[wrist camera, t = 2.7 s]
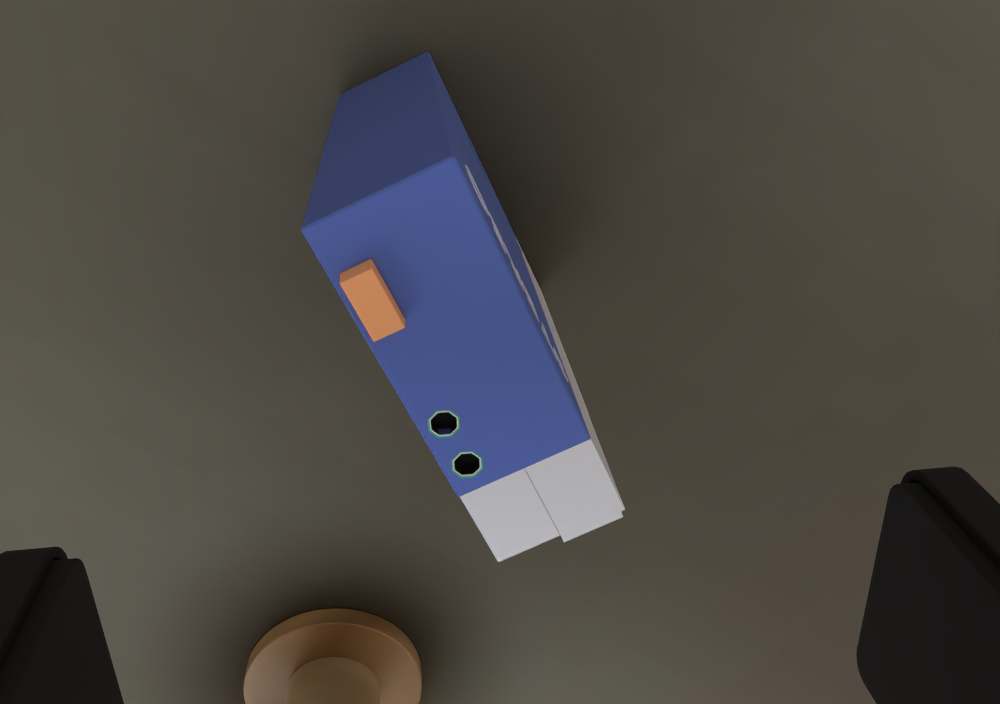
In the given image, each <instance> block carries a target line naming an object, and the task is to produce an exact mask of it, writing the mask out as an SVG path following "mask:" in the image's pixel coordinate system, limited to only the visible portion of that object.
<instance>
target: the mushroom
mask: <svg viewBox="0 0 1000 704" xmlns="http://www.w3.org/2000/svg"><path fill="white" fill-rule="evenodd" d="M421 691H422V673H421V663H420V659H419V656H418V653H417V651H416V649H415V647H414V645H413V644H412V642H411V641H410V640H409V638H408V637H407V636H406V635H405V634H404V633H403V632H402V631H401V630H400V629H399V628H397V627H396V626H394V625H393V624H392V623H390V622H388V621H386V620H384V619H383V618H380V617H378V616H375V615H373V614H370V613H366V612H363V611H358V610H352V609H340V608H334V609H321V610H314V611H310V612H306V613H302V614H299V615H297V616H294V617H291V618H289V619H287V620H285V621H283V622H281V623H280V624H278V625H277V626H275V627H274V628H272V629H271V630H270V631H269V632H268V633H266V634H265V635H264V636H263V637H262V639H261V640H260V641H259V642H258V643H257V645H256V646H255V648H254V649H253V651H252V653H251V655H250V657H249V660H248V664H247V667H246V673H245V678H244V686H243V693H244V700H245V704H418V703H419V700H420V697H421Z"/></svg>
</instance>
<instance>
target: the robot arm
mask: <svg viewBox="0 0 1000 704" xmlns="http://www.w3.org/2000/svg"><path fill="white" fill-rule="evenodd" d="M857 664H858V669H859V672H860V675H861V678H862V680H863V682H864V684H865V686H866V687H867V689H868V690H869V692H870V694H871V695H872V697H873V699H874V700H875V702H876V703H877V704H1000V504H999V503H998V502H997V501H996V500H995V499H994V498H993V497H992V496H991V495H990V494H989V493H988V492H987V491H986V490H985V489H984V488H983V487H982V486H981V485H980V484H979V483H978V482H977V481H975V480H974V479H973V478H972V477H971V476H970V475H969V474H968V473H967V472H966V471H964V470H963V469H962V468H958V467H945V468H934V469H923V470H912V471H910V472H907V473H906V474H905V476H904V477H903V479H902V481H901V484H896V485H894V486H893V487H892V488H891V490H890V493H889V496H888V501H887V505H886V510H885V515H884V520H883V525H882V530H881V535H880V539H879V544H878V549H877V554H876V559H875V564H874V569H873V574H872V578H871V583H870V588H869V593H868V598H867V603H866V608H865V613H864V617H863V622H862V627H861V632H860V637H859V642H858V647H857ZM0 704H124V703H123V699H122V696H121V692H120V689H119V685H118V682H117V678H116V674H115V671H114V667H113V664H112V660H111V657H110V653H109V650H108V646H107V643H106V639H105V636H104V632H103V629H102V625H101V622H100V618H99V615H98V611H97V608H96V604H95V601H94V597H93V594H92V590H91V587H90V583H89V580H88V576H87V573H86V569H85V567H84V564H83V562H82V561H81V560H80V559H77V558H75V559H68V558H67V556H66V553H65V552H64V551H63V550H62V548H59V547H49V548H37V549H26V550H15V551H6V552H3V553H1V554H0Z"/></svg>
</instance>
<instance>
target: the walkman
mask: <svg viewBox="0 0 1000 704" xmlns="http://www.w3.org/2000/svg"><path fill="white" fill-rule="evenodd" d="M301 231H302V233H303V234H304V236H305V238H306V239H307V241H308V243H309V244H310V246H311V248H312V250H313V251H314V253H315V255H316V256H317V258H318V260H319V261H320V263H321V265H322V267H323V268H324V270H325V272H326V273H327V275H328V277H329V279H330V280H331V282H332V284H333V285H334V287H335V289H336V290H337V292H338V294H339V296H340V297H341V299H342V301H343V302H344V304H345V306H346V307H347V309H348V311H349V313H350V314H351V316H352V318H353V319H354V321H355V323H356V324H357V326H358V328H359V330H360V331H361V333H362V335H363V336H364V338H365V340H366V341H367V343H368V345H369V347H370V348H371V350H372V352H373V353H374V355H375V357H376V358H377V360H378V362H379V364H380V365H381V367H382V369H383V370H384V372H385V374H386V375H387V377H388V379H389V381H390V382H391V384H392V386H393V387H394V389H395V391H396V393H397V394H398V396H399V398H400V399H401V401H402V403H403V404H404V406H405V408H406V410H407V411H408V413H409V415H410V416H411V418H412V420H413V421H414V423H415V425H416V427H417V428H418V430H419V432H420V433H421V435H422V437H423V438H424V440H425V442H426V444H427V445H428V447H429V449H430V450H431V452H432V454H433V455H434V457H435V459H436V461H437V462H438V464H439V466H440V467H441V469H442V471H443V472H444V474H445V476H446V478H447V479H448V481H449V483H450V484H451V486H452V488H453V490H454V491H455V493H456V495H457V496H458V497H460V498H461V500H462V501H463V503H464V505H465V506H466V508H467V510H468V512H469V513H470V515H471V517H472V518H473V520H474V522H475V523H476V525H477V527H478V529H479V530H480V532H481V534H482V535H483V537H484V539H485V541H486V542H487V544H488V546H489V547H490V549H491V551H492V552H493V554H494V556H495V558H496V559H497V561H498V562H500V561H502V560H505V559H507V558H509V557H512V556H514V555H516V554H518V553H521V552H523V551H525V550H528V549H530V548H532V547H535V546H537V545H539V544H541V543H544V542H546V541H548V540H551V539H553V538H555V537H557V536H560V535H561V537H562V539H563V541H564V542H566V541H568V540H571V539H573V538H575V537H578V536H580V535H582V534H585V533H587V532H589V531H592V530H594V529H596V528H599V527H601V526H603V525H606V524H608V523H610V522H612V521H615V520H617V519H619V518H622V517H623V515H622V513H621V511H623V510H625V508H624V505H623V503H622V500H621V498H620V495H619V492H618V490H617V487H616V485H615V482H614V479H613V477H612V474H611V472H610V469H609V466H608V464H607V461H606V459H605V456H604V453H603V451H602V448H601V446H600V443H599V441H598V438H597V435H596V433H595V430H594V428H593V425H592V422H591V420H590V417H589V413H588V411H587V408H586V406H585V403H584V400H583V398H582V395H581V393H580V390H579V387H578V385H577V382H576V380H575V377H574V375H573V372H572V369H571V367H570V364H569V362H568V359H567V356H566V354H565V351H564V349H563V346H562V343H561V341H560V338H559V336H558V333H557V331H556V328H555V325H554V323H553V320H552V318H551V315H550V312H549V310H548V307H547V305H546V302H545V300H544V297H543V294H542V292H541V289H540V287H539V285H538V283H537V281H536V279H535V276H534V274H533V272H532V270H531V268H530V266H529V264H528V262H527V259H526V257H525V255H524V253H523V251H522V249H521V247H520V245H519V242H518V240H517V238H516V236H515V234H514V232H513V230H512V228H511V225H510V223H509V221H508V219H507V217H506V215H505V213H504V211H503V208H502V206H501V204H500V202H499V200H498V198H497V196H496V194H495V191H494V189H493V187H492V185H491V183H490V181H489V179H488V177H487V174H486V172H485V170H484V168H483V166H482V164H481V162H480V160H479V157H478V155H477V153H476V151H475V149H474V147H473V145H472V143H471V140H470V138H469V136H468V134H467V132H466V130H465V128H464V126H463V123H462V121H461V119H460V117H459V115H458V113H457V111H456V109H455V106H454V104H453V102H452V100H451V98H450V96H449V94H448V91H447V89H446V87H445V85H444V83H443V81H442V79H441V77H440V74H439V72H438V70H437V68H436V66H435V64H434V62H433V60H432V57H431V55H430V53H429V52H425V53H423V54H421V55H419V56H417V57H415V58H413V59H411V60H409V61H407V62H405V63H403V64H401V65H399V66H397V67H395V68H393V69H391V70H388V71H386V72H384V73H382V74H380V75H378V76H376V77H374V78H372V79H370V80H368V81H366V82H364V83H362V84H360V85H358V86H356V87H354V88H352V89H350V90H348V91H346V92H344V93H342V94H340V95H339V97H338V101H337V104H336V108H335V111H334V115H333V118H332V122H331V125H330V129H329V132H328V136H327V139H326V143H325V146H324V150H323V154H322V157H321V161H320V164H319V168H318V171H317V175H316V178H315V182H314V185H313V189H312V192H311V196H310V199H309V203H308V206H307V210H306V213H305V217H304V220H303V224H302V228H301ZM559 533H560V534H559Z"/></svg>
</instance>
